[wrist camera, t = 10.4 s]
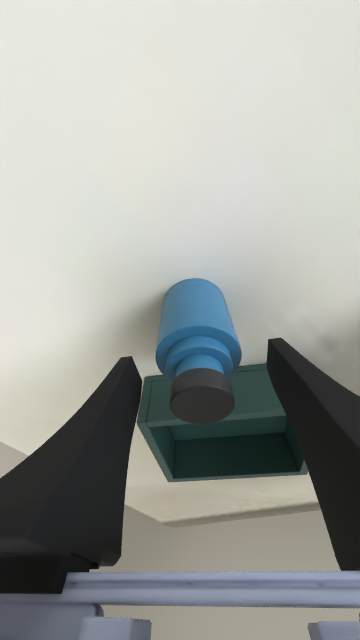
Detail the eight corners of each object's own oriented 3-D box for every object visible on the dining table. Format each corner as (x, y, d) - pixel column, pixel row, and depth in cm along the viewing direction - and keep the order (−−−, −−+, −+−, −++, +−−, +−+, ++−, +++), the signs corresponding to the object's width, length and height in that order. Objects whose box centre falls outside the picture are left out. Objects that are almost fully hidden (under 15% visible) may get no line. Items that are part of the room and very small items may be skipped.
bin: (303, 359, 19) (333, 405, 15) (288, 430, 26) (307, 474, 22) (144, 377, 20) (136, 423, 17) (170, 439, 27) (168, 482, 23)
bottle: (222, 273, 14) (259, 363, 8) (226, 327, 17) (256, 430, 10) (156, 283, 15) (134, 377, 8) (170, 334, 17) (161, 438, 11)
